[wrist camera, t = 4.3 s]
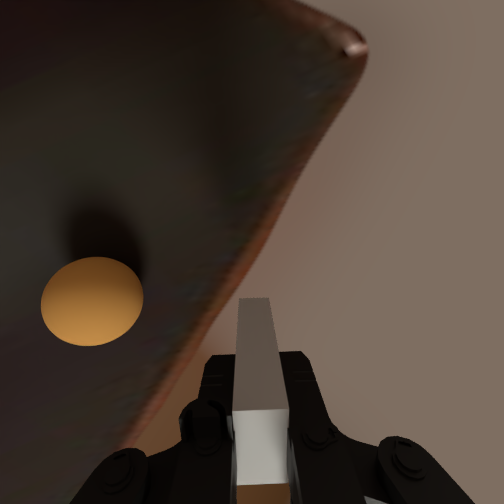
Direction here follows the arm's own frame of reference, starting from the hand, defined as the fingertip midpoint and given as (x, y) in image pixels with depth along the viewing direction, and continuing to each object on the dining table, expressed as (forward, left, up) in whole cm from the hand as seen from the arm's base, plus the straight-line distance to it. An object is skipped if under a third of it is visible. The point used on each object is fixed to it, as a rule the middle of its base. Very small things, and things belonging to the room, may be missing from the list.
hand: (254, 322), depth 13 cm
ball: (0, +10, -4) cm, 11 cm away
